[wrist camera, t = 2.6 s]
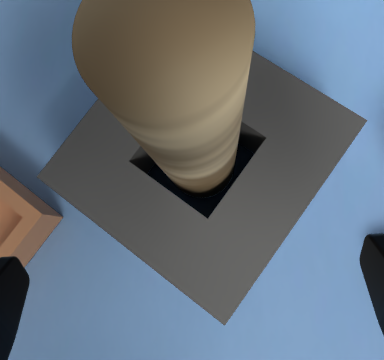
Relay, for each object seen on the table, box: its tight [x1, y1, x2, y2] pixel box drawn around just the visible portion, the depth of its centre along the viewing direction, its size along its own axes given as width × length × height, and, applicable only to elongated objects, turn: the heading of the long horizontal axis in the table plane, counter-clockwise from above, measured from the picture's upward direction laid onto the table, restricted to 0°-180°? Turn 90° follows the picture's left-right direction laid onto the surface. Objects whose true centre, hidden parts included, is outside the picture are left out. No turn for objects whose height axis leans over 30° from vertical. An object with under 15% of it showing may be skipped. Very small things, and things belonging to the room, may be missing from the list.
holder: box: [37, 51, 367, 325], centre depth 19 cm, size 12×12×4 cm
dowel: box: [72, 0, 255, 198], centre depth 14 cm, size 4×4×14 cm
